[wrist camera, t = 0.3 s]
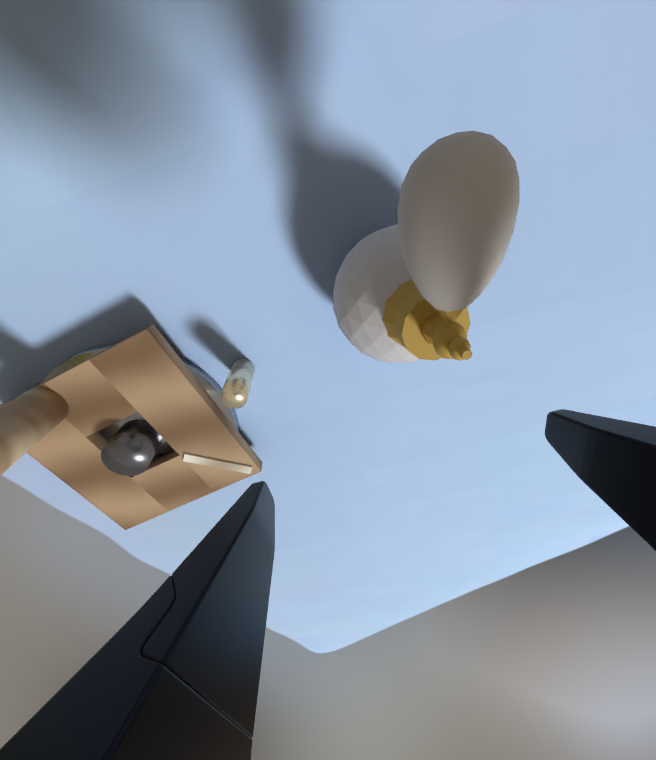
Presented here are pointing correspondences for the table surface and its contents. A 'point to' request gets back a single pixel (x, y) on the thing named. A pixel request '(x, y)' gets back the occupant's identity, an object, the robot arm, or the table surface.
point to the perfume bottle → (431, 253)
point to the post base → (138, 438)
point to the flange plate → (113, 403)
